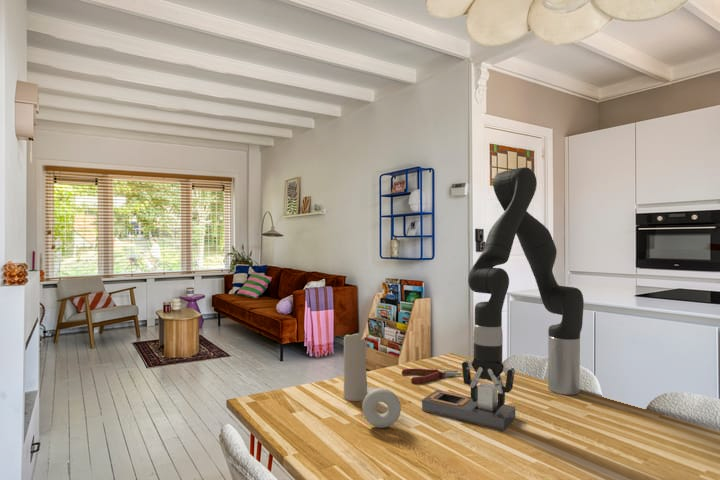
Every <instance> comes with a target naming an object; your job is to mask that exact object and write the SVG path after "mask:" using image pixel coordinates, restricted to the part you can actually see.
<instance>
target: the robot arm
mask: <svg viewBox="0 0 720 480" xmlns="http://www.w3.org/2000/svg"><path fill="white" fill-rule="evenodd" d="M537 183H538V181H537V177H536V174H535V172H534V171H533V170H532V169H531V168H529V167H526V166H525V167H524V166H523V167H517V168H514V169H508V170H505V171H501V172H498V173H497V174H495V175H494V177H493V181H492V187H493V191H494V194H495V197H496V198H497V201H498V202H499V204H500V205H501V208H502V209H503V213H502V214H501V215H500V217H499V218H498V219H497V220H496V221H495V223H494V224H493V225H492V226H491V228H490V230H489V232H488V235H487V237H486V240H485V244H484V247H483V251H482V252H481V253H480V255H479V256H478V258H477V260H476V261H475V263H474V264H473V265H472V267H471V269H470V271H469V274H468V277H467V278H468V279H467V283H468V286H469V288H470V290H471V291H472V292H474V293H479V294H489V295H490V297H489V300H488V301H480V302H478V303H476V304H475V305H474V327H473V328H474V329H473V336H472V338H473V344H472V345H473V346H472V347H473V351H472V354H473V360H472V361H469V360H464V361H463V362H462V363H461V370H462V378H463V379H462V380H463V384H464V385H468V386H469V387H470V397H471V399H473V401H474V402H476V401H477V400H478V386H479V385H478V383H479V382H480V380H488V381H491V382H493V383H492V384H494V385H495V386H496V388H497V403H498V404H497V406H498V407H501V406H503V405H504V404H505V403H506V400H505V399H506V394H507V393H510V392H511V391H512V390H513V387H514V386H513V385H514V379H515V372H516V371H515V368H514V367H511V368H510V367H509V368H508V367H505V366H504V364H503V340H504V339H503V326H502V325H503V313H502V312H503V308H504V303H505V298H506V295H507V293H508V289H509V285H510V277H509V275H508V273H507V271H506V270H505V269H504V268H502V267H496V266H499V265H504V264H506V263H507V262H508V261H509V258H510V255H511V251H512V249H513V244H514V240H515V238H516V237H517V239H518V243H519V244H520V247H521V249H522V251H523V254H524V256H525V258H526V260H527V263H528V265H529V267H530V270H531V272H532V275H533V276H534V279H535V282H536V285H537V288H538V292H539V295H540V299H541V302H542V304H543V306H544V308H545V310H547V311H548V312H549V313H551V314H554V315H555V314H556V315H560V316H561V321H560V323H558V324H557V323H556V324H552V325H549V327H548V329H547V330H548V331H547V332H548V335H547V336H548V337H547V338H548V342H547V343H548V345H547V346H548V347H547V350H548V351H547V357H548V358H547V360H548V361H547V364H548V365H547V390H549V391H551V392H552V393H556V394H559V395H565V396H566V395H567V396H573V395H578V394H580V382H581V380H580V379H581V377H580V375H581V374H580V373H581V369H580V368H581V367H580V365H581V332H582V329H583V320H584V319H583V317H584V308H585V307H584V303H585V302H584V300H585V299H584V295H583V292H582V291H581V290H580V288H577V287H574V286H566V285H559V284H558V282H557V280H556V278H555V276H554V272H553V271H554V266H555V263H556V259H557V247H556V244H555V242H554V239H553V237H552V235H551V232H550V230H549V229H548V228H547V226H545V225H544V224H543V223H542V222H540V220H538V219H537V218H535V217H534V216H533V215H532V214H531V213H529V212H528V209H529V206H530V204H531V202H532V200H533V199H534V196H535V194H536V190H537V186H538V185H537ZM472 368H473V370H474V372H475V374H474V376H473V378H472V376H471V375H472V373H471V369H472ZM502 373H504V376H505V377H506V379H505V384H504V383H503V381H504V380H503V378H502V376H501V374H502Z"/></svg>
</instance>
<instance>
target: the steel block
mask: <svg viewBox="0 0 720 480" xmlns="http://www.w3.org/2000/svg"><path fill="white" fill-rule="evenodd" d="M477 386H478V410H482V411H486V412H491V413H495V412H496V411H497V403H498V390H497V388H496V386H495V385H494V383H488V382H484V381H483V382H481V383H479V385H477Z"/></svg>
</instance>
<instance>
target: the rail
mask: <svg viewBox="0 0 720 480" xmlns="http://www.w3.org/2000/svg"><path fill="white" fill-rule="evenodd" d="M497 404H498V402H497ZM421 411H422V412H427V413H431V414H436V415H439V416H444V417H447V418H451V419H456V420H458V421H463V422H465V423H466V422H467V423H471V424H475V425H479V426H482V427H487V428H491V429H495V430H497V431H498V430H499V431H502V432H504V431H506V429H507V428H508V427H509V426H510V425H511V423H512V422H513V421H514V420H515V419H516V406H515V405H510V404H505V403H504V405H503V406H501V407H498V406H497V411H496V412H495V413H491V412H486V411H482V410H478V400H477V401H476V402H474V401H473V399H471V396H467V395H463V394H459V393H454V392H449V391H446V390H440V389H436V390H435V391H433V392H431V393H430V394H429V395H427V396H426V397H424V398H422V400H421Z"/></svg>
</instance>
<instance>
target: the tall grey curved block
mask: <svg viewBox="0 0 720 480" xmlns="http://www.w3.org/2000/svg"><path fill="white" fill-rule="evenodd" d="M367 350H368V341H366V339H365V338H364V337H362V338H361V335H360V333H353V334H345V335H344V337H343V399H344V400H346V401H348V402H349V401H350V402H361V401H362V402H363V401H364V399H365V397H366V395H367V394H368V393H369V392H370V391H372V390H374V389H378V388H377V387H373V386H368V381H367V379H368V378H367V363H366V362H367V353H368V352H367Z"/></svg>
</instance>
